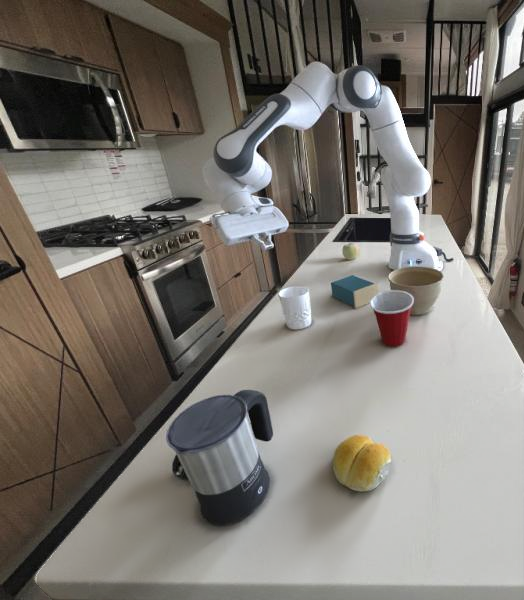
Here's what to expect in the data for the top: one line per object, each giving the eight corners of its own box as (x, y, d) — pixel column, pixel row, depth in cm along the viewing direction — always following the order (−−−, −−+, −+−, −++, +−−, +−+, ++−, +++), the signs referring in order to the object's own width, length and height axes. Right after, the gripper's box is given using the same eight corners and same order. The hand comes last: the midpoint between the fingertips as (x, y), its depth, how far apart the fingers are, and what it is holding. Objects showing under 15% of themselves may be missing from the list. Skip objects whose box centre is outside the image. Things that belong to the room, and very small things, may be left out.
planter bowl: (419, 292, 109) (419, 262, 105) (453, 310, 98) (455, 276, 93) (379, 306, 101) (377, 273, 96) (411, 327, 89) (410, 291, 84)
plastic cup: (363, 343, 82) (359, 301, 77) (389, 326, 90) (388, 286, 85) (396, 358, 76) (395, 314, 71) (422, 338, 84) (422, 296, 79)
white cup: (319, 319, 94) (314, 287, 90) (303, 332, 88) (297, 299, 83) (296, 315, 97) (290, 284, 92) (279, 328, 90) (272, 295, 86)
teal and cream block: (330, 282, 106) (354, 292, 98) (352, 274, 112) (377, 283, 104) (332, 296, 108) (356, 308, 100) (354, 288, 114) (378, 298, 106)
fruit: (358, 261, 140) (357, 243, 137) (342, 261, 140) (340, 243, 137) (361, 255, 147) (359, 238, 144) (344, 256, 147) (343, 238, 144)
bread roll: (355, 436, 56) (353, 419, 54) (398, 460, 52) (398, 443, 50) (321, 473, 50) (317, 455, 48) (366, 504, 45) (364, 486, 44)
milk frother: (258, 525, 43) (231, 447, 37) (135, 536, 42) (85, 458, 36) (284, 438, 56) (267, 369, 50) (190, 445, 55) (160, 376, 49)
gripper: (208, 208, 84) (237, 251, 83) (275, 198, 99) (301, 234, 98) (204, 223, 88) (231, 264, 88) (269, 211, 103) (293, 246, 103)
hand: (269, 248), depth 93 cm, fingers closed
